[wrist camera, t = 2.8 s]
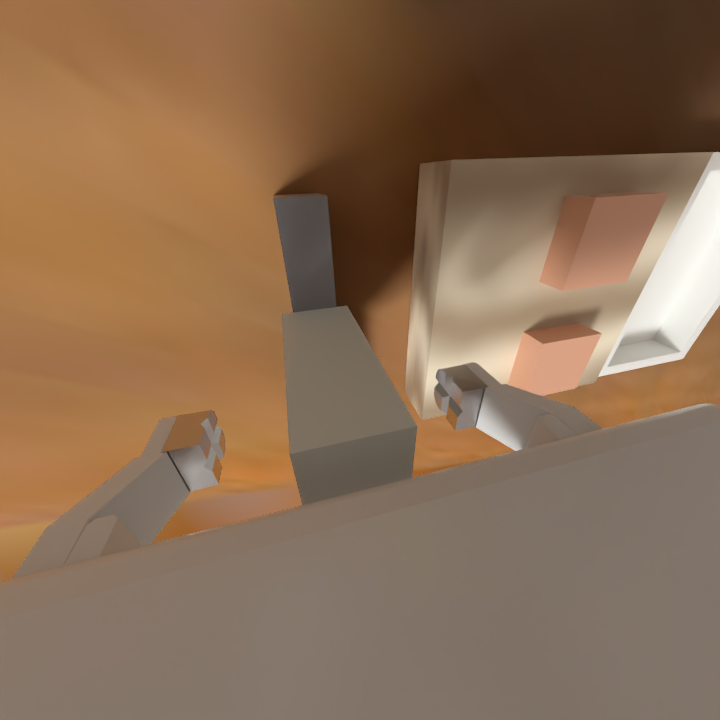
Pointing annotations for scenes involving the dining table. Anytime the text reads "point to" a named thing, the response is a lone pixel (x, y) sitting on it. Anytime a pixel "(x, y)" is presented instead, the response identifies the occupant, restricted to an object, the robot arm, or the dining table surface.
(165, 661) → the robot arm
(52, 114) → the dining table surface
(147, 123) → the dining table surface
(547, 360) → the tile
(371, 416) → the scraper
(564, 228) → the tile
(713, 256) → the tray
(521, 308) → the birch board
